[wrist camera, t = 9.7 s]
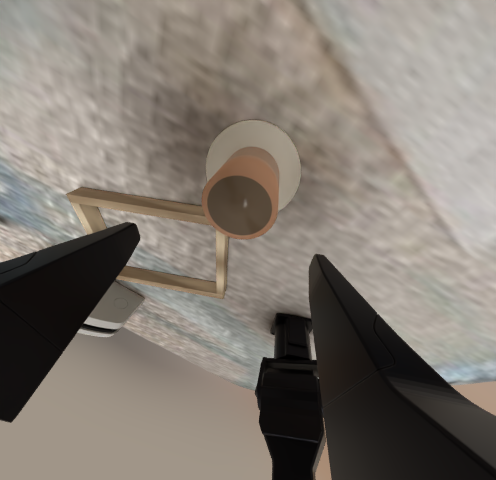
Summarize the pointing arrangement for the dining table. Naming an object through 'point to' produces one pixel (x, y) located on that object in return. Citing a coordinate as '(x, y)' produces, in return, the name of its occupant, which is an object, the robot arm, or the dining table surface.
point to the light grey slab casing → (111, 311)
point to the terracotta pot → (243, 194)
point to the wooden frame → (92, 221)
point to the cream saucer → (264, 138)
